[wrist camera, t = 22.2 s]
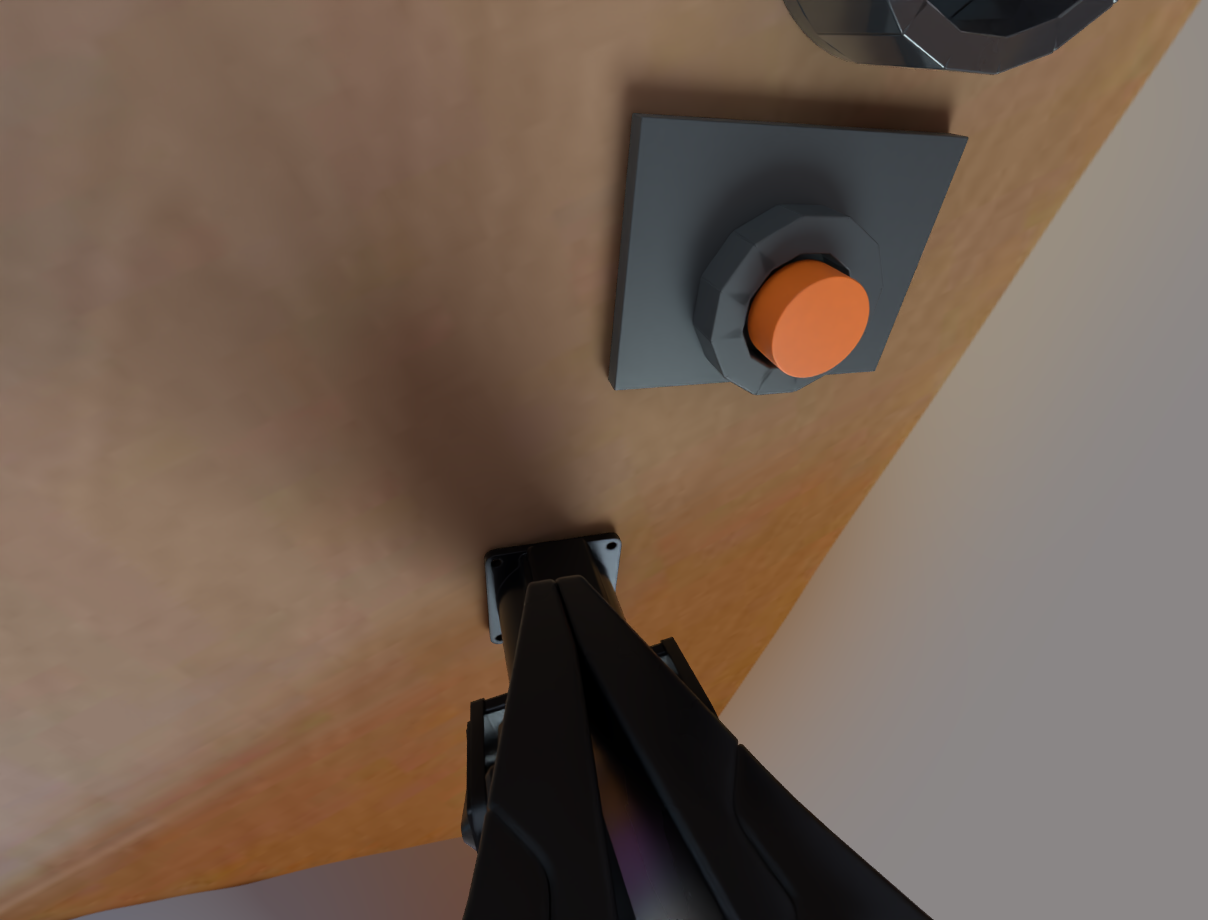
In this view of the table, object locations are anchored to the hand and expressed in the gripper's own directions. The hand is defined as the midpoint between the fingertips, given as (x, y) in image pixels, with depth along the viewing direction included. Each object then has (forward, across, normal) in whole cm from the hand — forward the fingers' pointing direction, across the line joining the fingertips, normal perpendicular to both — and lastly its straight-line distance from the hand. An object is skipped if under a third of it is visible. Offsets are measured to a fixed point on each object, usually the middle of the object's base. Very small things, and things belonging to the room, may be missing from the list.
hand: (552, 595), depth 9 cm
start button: (+11, -11, 0) cm, 15 cm away
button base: (+13, -11, -1) cm, 17 cm away
